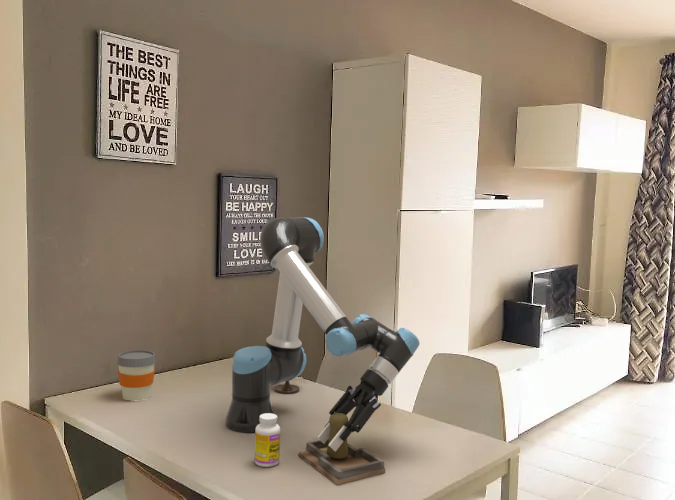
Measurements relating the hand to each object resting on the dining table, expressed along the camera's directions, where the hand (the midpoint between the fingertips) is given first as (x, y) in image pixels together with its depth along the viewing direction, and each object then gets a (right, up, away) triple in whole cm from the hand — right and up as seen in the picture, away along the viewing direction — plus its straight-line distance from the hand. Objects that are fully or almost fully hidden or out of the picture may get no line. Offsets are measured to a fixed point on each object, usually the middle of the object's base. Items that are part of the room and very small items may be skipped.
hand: (326, 444), depth 173 cm
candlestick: (-15, +1, +63) cm, 65 cm away
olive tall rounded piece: (+3, -3, +2) cm, 5 cm away
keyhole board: (+4, -6, +1) cm, 7 cm away
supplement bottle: (-16, -5, 0) cm, 17 cm away
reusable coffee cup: (-66, +1, +50) cm, 83 cm away
